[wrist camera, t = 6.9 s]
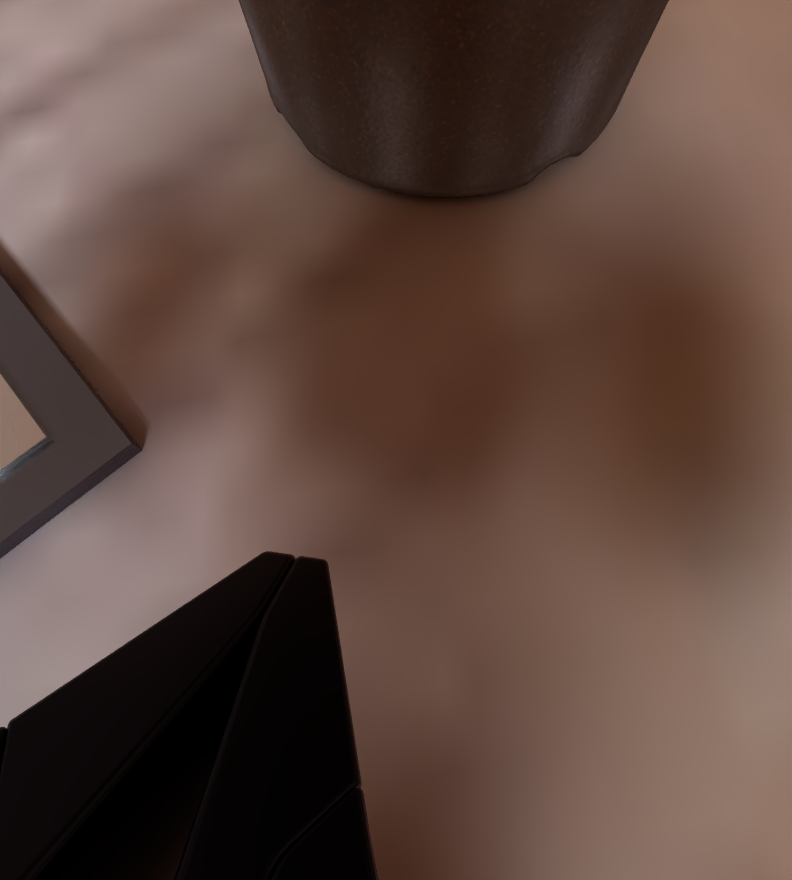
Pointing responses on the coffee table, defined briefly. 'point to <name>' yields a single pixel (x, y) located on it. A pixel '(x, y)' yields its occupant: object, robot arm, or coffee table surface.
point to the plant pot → (448, 83)
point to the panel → (47, 425)
